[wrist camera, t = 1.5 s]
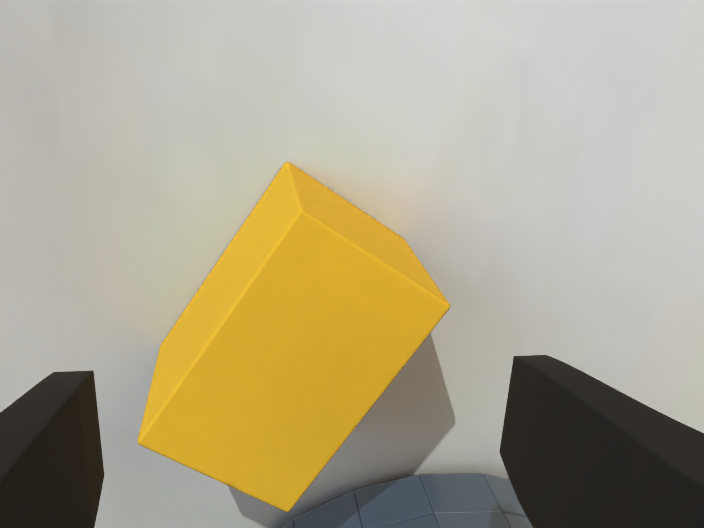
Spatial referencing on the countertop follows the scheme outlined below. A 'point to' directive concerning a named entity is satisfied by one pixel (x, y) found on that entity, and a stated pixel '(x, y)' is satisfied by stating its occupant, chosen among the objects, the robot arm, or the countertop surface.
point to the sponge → (288, 342)
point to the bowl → (423, 505)
